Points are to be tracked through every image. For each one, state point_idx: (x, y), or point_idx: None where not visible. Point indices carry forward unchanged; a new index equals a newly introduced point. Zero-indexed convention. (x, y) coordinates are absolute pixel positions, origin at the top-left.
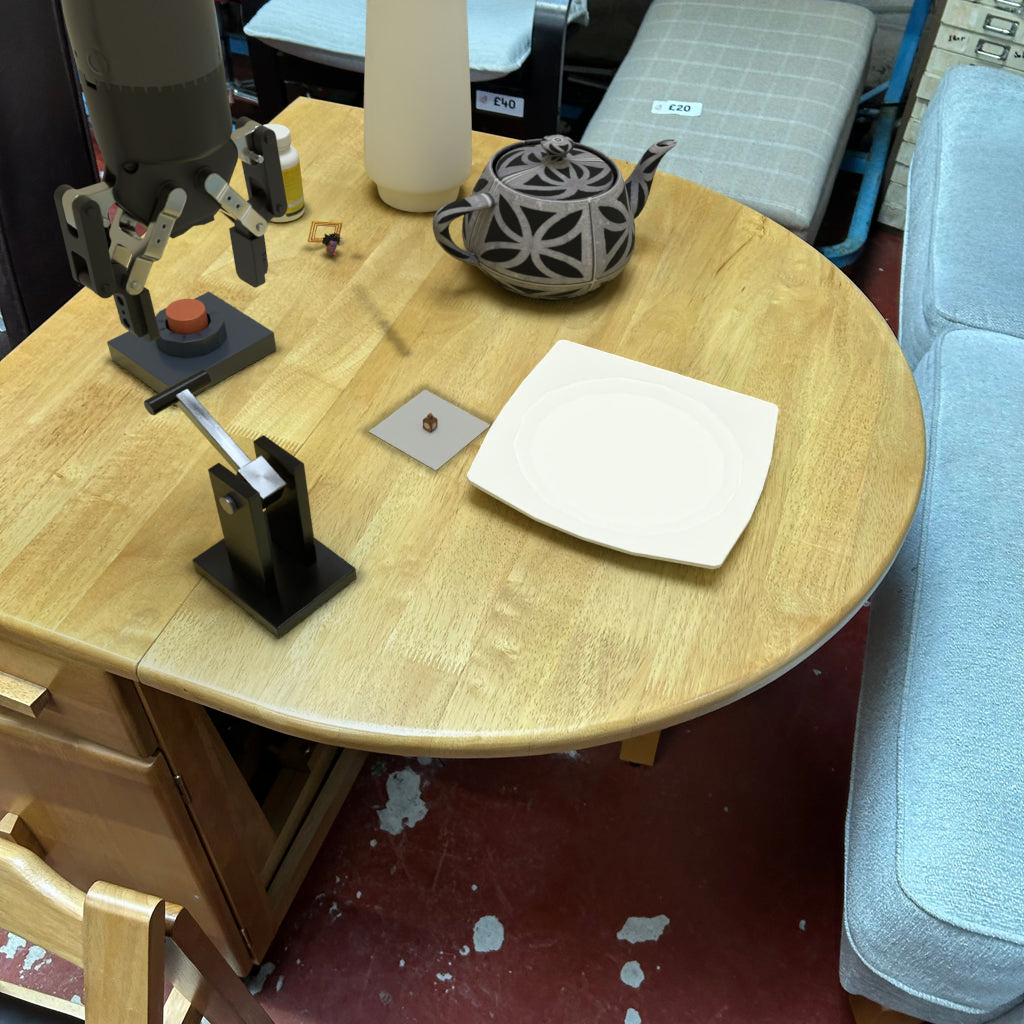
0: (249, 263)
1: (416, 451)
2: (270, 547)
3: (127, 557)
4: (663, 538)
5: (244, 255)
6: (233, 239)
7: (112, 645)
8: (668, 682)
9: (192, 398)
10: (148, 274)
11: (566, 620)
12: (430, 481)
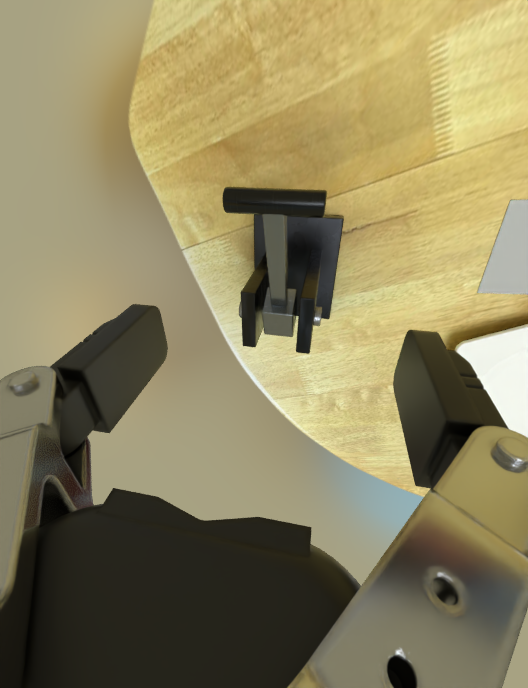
0: (405, 410)
1: (497, 262)
2: (304, 256)
3: (225, 150)
4: None
5: (413, 409)
6: (432, 405)
7: (174, 223)
8: (367, 463)
9: (279, 227)
10: (90, 471)
11: (376, 420)
12: (460, 296)
